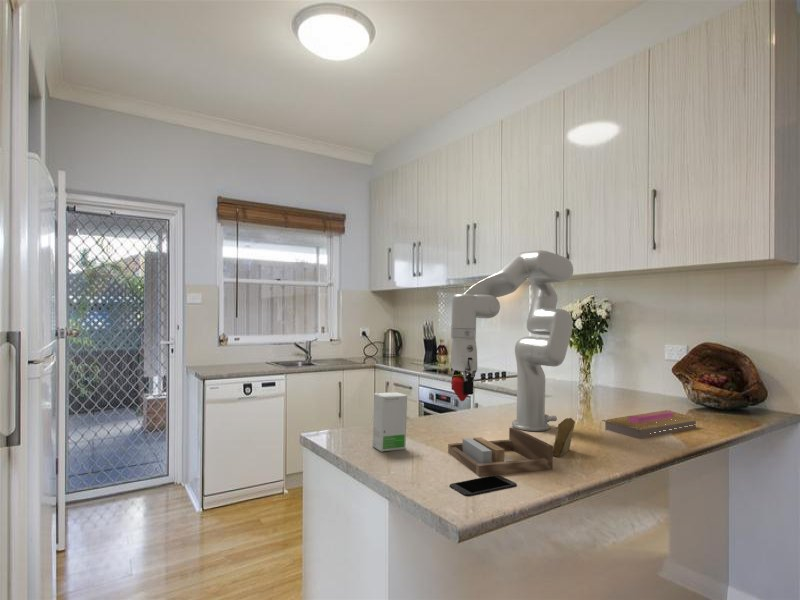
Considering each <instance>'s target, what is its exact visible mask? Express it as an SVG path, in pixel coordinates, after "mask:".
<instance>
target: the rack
mask: <svg viewBox="0 0 800 600" xmlns="http://www.w3.org/2000/svg"><path fill="white" fill-rule="evenodd" d="M508 431H509V432H508V434H509V435H508V437H509V438H508V439H502V440H501V439H500V440H488V441H489V442H491V443H493V444H495V445H497V446H499V447H501V448H502V449H504V450H505V451H510V450H512V451H513V452H515V453H517V454H519V455H520V456H521V457H522V456H523V457H524V458H526V459H518V460H508V461H507V460H506V461H505V460H504V462H493V463H481V464H479V463H477V462H476V461H475V460H473V459H472V458H470V457H469V456H468V455H466V454H465V453H463V452H462V451H463V442H456V443H448V444H447V445H448V446H447V450H448V451H447V453H448V454H449V455H450V456H452V457H453V458H454V459H455V460H457V461H459V462H460V464H462V465H463V466H465V467H466V468H467V469H468V470H470V471H472V473H474V474H475V475H477V477H487V476H493V475H503V474H504V475H505V474H507V475H508V474H516V473H517V474H518V473H526V472H528V473H529V472H538V471H547V470H548V471H550V470H553V469H554V467H553V463H554V460H553V459H554V458H553V457H554V455H553V445H552V444H550V443H548V442H545V441H544V440H541V439H540V438H538V437H536V436H533V435H531V434H529V433H526V432H524V431H523V430H521V429H518V428H515V427H513V426H512V427H509V430H508Z"/></svg>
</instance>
